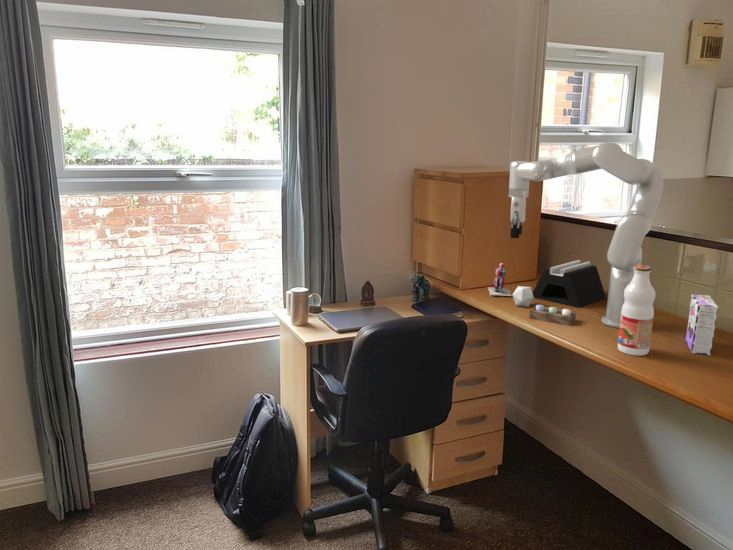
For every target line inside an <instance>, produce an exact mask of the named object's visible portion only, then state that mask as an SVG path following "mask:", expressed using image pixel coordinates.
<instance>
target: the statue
mask: <svg viewBox="0 0 733 550" xmlns="http://www.w3.org/2000/svg"><path fill="white" fill-rule="evenodd" d="M495 276H496V277H495V278H494V283H493V284H494V287H493V286H492V287H490V286H487V291H488V293H489V297H493V298H494V297H495V296H496V297H501V298H504V297H505V296H506V297H510V298H513V295H512V294H513V293H512V292H511V290H510V289H509V287H508V288H505V283H506V279H505V277H506V269H504V263H502V262H501V263H499V268H498V267H496V268H495Z"/></svg>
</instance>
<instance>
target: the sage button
mask: <svg viewBox="0 0 733 550" xmlns="http://www.w3.org/2000/svg"><path fill="white" fill-rule="evenodd" d="M548 308H549V313H555V314H557V309H558V307H557V306H550V307H548Z"/></svg>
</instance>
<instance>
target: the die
mask: <svg viewBox="0 0 733 550" xmlns="http://www.w3.org/2000/svg"><path fill="white" fill-rule="evenodd" d="M511 294H512V298H513V301H514V304H515V306H516V307H526V308H529V307H530V305H531V304H532V302H533V300H534V299H535V298H534V296H533V290H532V287H531V286H522V285H521V286H520V285H518V286H517V287H516V289H515V290H514V291H513V293H511Z"/></svg>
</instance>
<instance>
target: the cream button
mask: <svg viewBox="0 0 733 550" xmlns="http://www.w3.org/2000/svg"><path fill="white" fill-rule="evenodd" d="M561 310H562V315H567V316H570V315H571V312H572V309H569V308H563V309H561Z"/></svg>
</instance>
